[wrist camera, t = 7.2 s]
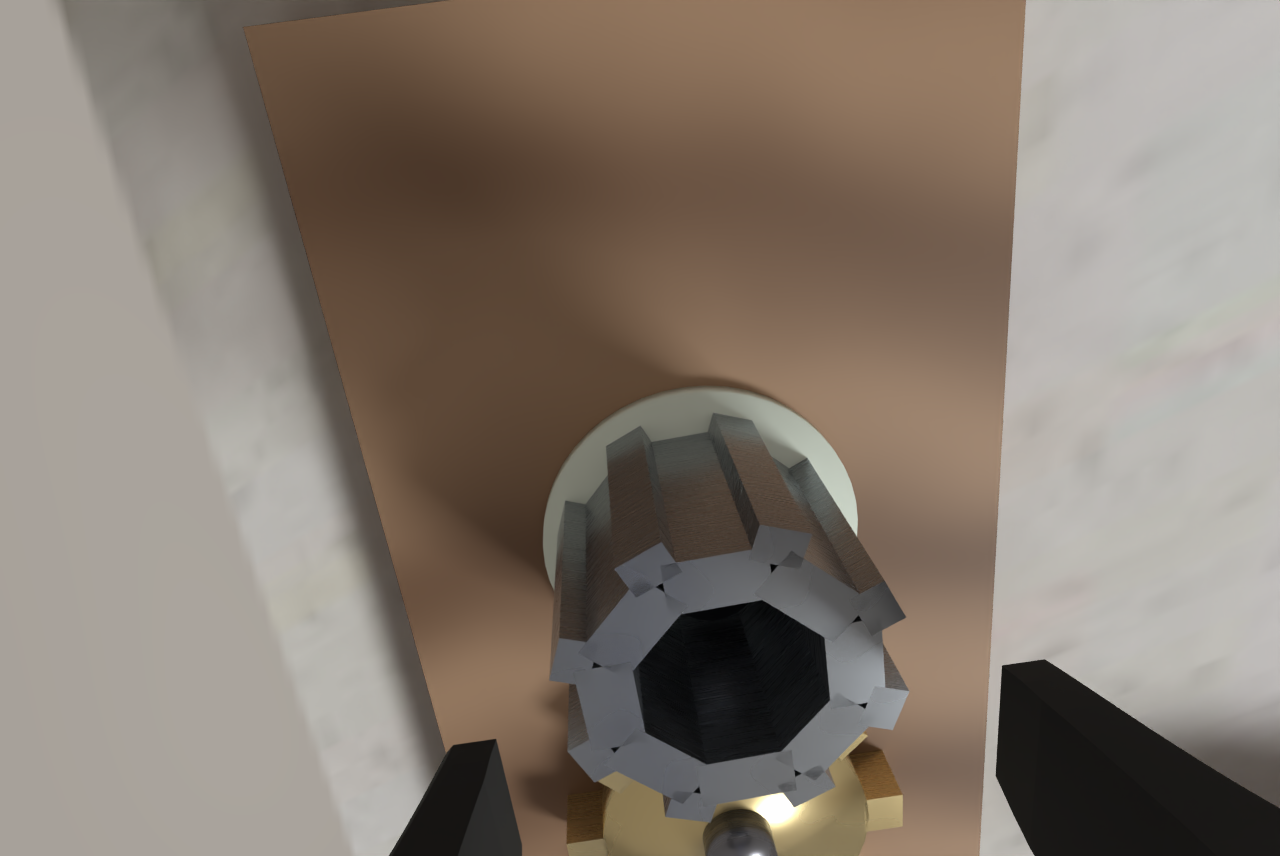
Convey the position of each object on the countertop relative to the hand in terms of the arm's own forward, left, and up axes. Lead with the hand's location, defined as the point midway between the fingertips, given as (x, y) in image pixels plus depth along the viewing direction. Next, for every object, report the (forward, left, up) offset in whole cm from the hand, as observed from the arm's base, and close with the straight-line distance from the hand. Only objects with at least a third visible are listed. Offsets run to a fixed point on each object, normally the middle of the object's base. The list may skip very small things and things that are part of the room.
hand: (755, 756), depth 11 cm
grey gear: (0, 0, -6) cm, 6 cm away
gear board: (-1, -1, -8) cm, 8 cm away
